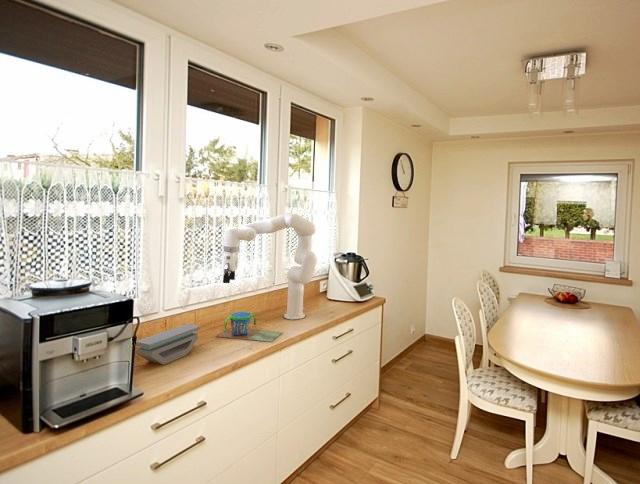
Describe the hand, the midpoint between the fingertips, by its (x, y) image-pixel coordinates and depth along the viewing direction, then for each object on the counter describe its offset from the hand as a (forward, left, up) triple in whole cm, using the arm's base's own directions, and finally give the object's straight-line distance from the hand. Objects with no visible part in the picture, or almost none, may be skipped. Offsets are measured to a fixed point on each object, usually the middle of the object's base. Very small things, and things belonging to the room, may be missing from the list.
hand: (228, 281), depth 194 cm
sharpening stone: (+37, -5, -27) cm, 46 cm away
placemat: (+3, +14, -27) cm, 31 cm away
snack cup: (+3, +9, -27) cm, 29 cm away
